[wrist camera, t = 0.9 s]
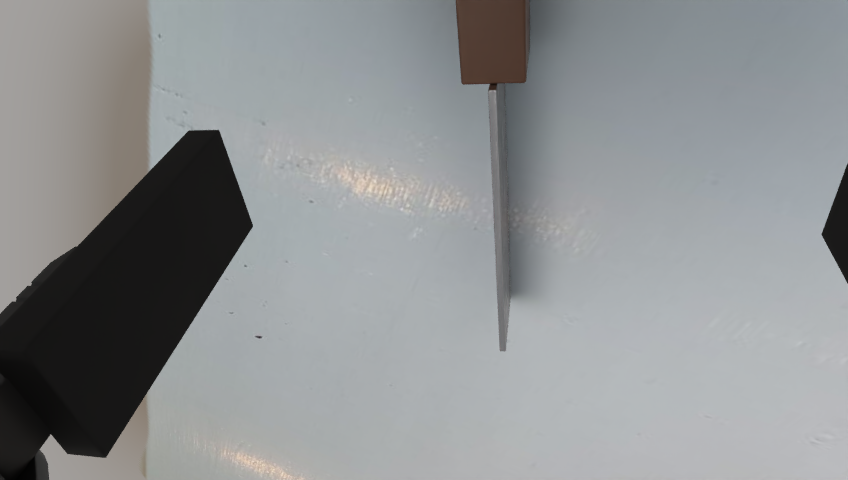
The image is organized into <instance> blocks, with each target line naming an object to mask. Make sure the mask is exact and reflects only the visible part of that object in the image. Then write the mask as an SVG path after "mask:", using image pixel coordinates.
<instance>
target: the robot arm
mask: <svg viewBox="0 0 848 480" xmlns="http://www.w3.org/2000/svg"><path fill="white" fill-rule="evenodd" d="M252 227H253V224H252V222H251V219H250V216H249V213H248V210H247V208H246V205H245V202H244V199H243V196H242V193H241V191H240V188H239V185H238V182H237V179H236V177H235V174H234V171H233V168H232V165H231V163H230V160H229V157H228V154H227V151H226V149H225V146H224V143H223V140H222V137H221V135H220V132H219V130H196V131H188V132H187V133H186V134H185V135H184V136H183V137H182V138H181V139H180V140H179V141H178V142H177V143H176V144H175V145H174V147H173V148H172V149H171V150H170V151H169V152H168V153H167V154H166V155H165V156H164V157H163V158H162V159H161V160H160V161H159V162H158V163H157V164H156V165H155V166H154V167H153V168H152V169H151V170H150V171H149V173H148V174H147V175H146V176H145V177H144V178H143V179H142V180H141V181H140V182H139V183H138V184H137V185H136V186H135V187H134V188H133V189H132V190H131V191H130V192H129V193H128V194H127V196H125V198H124V199H123V200H122V201H121V202H120V203H119V204H118V205H117V206H116V207H115V208H114V209H113V210H112V211H111V212H110V213H109V214H108V215H107V216H106V217H105V218H104V219H103V220H102V221H101V223H100V224H99V225H98V226H97V227H96V228H95V229H94V230H93V231H92V232H91V233H90V234H89V235H88V236H87V237H86V238H85V239H84V240H83V241H82V242H81V243H80V244H79V245H78V246H77V247H74V248H72V249H71V250H70V251H68V252H66V253H65V254H63V255H62V256H60V257H59V258H57V259H56V260H54V261H53V262H51V263H50V264H49V265H48V266H47V267H46V268H45V269H44V270H43V271H42V272H41V273H40V274H39V275H38V276H37V277H36V278H35V279H34V280H33V281H32V285H31V286H27V287H26V288H25V289H24V290H23V291H22V292H21V293H20V294H19V295H18V296H17V297H16V298H17V300H16V302H11V303H10V304H9V305H8V306H7V307H6V308H5V309H4V311H2V313H1V314H0V480H49V473H48V463H47V461H46V458H45V456H44V454H43V453H42V452H41V451H40V450H39V449H40V448H41V447H42V445H43V444H44V442H45V441H46V440H47V438H48V437H49V436H50V434H51V435H52V436H53V437H54V438H55V439H56V441H57V442H58V443H59V444H60V445H61V447H62V448H63V449H64V450H65V451H66V453H67V454H74V455H84V456H93V457H102V458H105V457H106V456H107V455H108V453H109V451H110V450H111V449H112V447H113V445H114V444H115V442H116V441H117V439H118V438H119V436H120V434H121V433H122V431H123V430H124V428H125V427H126V425H127V423H128V422H129V420H130V419H131V417H132V416H133V414H134V412H135V411H136V409H137V408H138V406H139V405H140V403H141V401H142V400H143V398H144V397H145V395H146V394H147V392H148V390H149V389H150V387H151V386H152V384H153V383H154V381H155V379H156V378H157V376H158V375H159V373H160V372H161V370H162V368H163V367H164V365H165V364H166V362H167V361H168V359H169V357H170V356H171V354H172V353H173V351H174V350H175V348H176V346H177V345H178V343H179V342H180V340H181V339H182V337H183V335H184V334H185V332H186V331H187V329H188V328H189V326H190V324H191V323H192V321H193V320H194V318H195V317H196V315H197V313H198V312H199V310H200V309H201V307H202V306H203V304H204V302H205V301H206V299H207V298H208V296H209V295H210V293H211V291H212V290H213V288H214V287H215V285H216V284H217V282H218V280H219V279H220V277H221V276H222V274H223V273H224V271H225V269H226V268H227V266H228V265H229V263H230V262H231V260H232V258H233V257H234V255H235V254H236V252H237V251H238V249H239V247H240V246H241V244H242V243H243V241H244V240H245V238H246V236H247V235H248V233H249V232H250V230H251V229H252ZM822 236H823V238H824V240H825V242H826V244H827V246H828V248H829V249H830V251H831V253H832V255H833V257H834V259H835V261H836V262H837V264H838V266H839V268H840V270H841V272H842V274H843V275H844V277H845V279H846V281H847V283H848V164H847V167H846V169H845V172H844V175H843V177H842V180H841V183H840V186H839V188H838V191H837V194H836V197H835V199H834V202H833V205H832V207H831V210H830V213H829V216H828V218H827V221H826V224H825V227H824V229H823V232H822Z"/></svg>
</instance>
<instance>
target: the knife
mask: <svg viewBox="0 0 848 480" xmlns="http://www.w3.org/2000/svg"><path fill="white" fill-rule="evenodd" d="M456 13H457V26H458V40H459V54H460V68H461V82H462V84H490V85H489V90H488V97H489V119H490V142H491V164H492V187H493V209H494V231H495V254H496V276H497V299H498V321H499V344H500V351H506V343H507V332H508V322H509V311H510V300H511V286H510V249H509V211H508V173H507V136H506V98H505V83H525V82H526V78H527V68H528V59H529V50H530V0H456Z"/></svg>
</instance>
